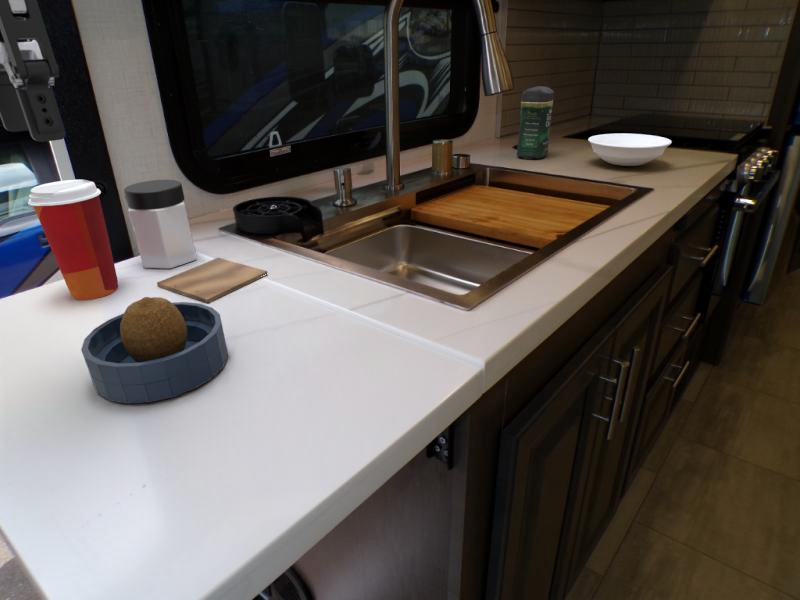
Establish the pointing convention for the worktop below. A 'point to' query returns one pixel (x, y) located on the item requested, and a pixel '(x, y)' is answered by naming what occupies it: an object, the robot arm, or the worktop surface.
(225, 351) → the glazed bowl
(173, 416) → the worktop surface
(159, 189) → the jar
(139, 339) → the fruit
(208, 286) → the board
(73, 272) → the coffee cup
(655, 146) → the bowl
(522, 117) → the green canister
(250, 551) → the worktop surface
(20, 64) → the robot arm
